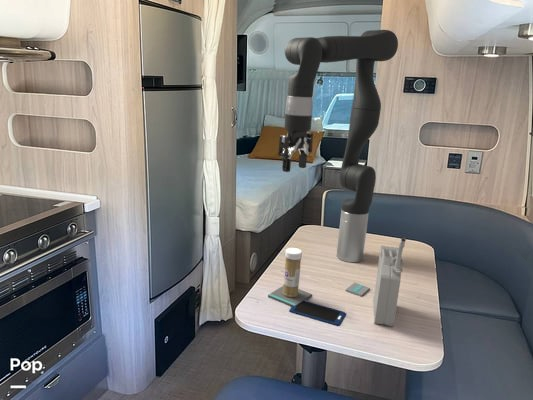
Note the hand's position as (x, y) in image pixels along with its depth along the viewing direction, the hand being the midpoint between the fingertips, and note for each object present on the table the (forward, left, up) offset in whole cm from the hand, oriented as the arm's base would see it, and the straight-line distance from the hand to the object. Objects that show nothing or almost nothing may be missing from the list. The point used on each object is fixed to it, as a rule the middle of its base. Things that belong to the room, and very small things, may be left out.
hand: (294, 169), depth 127 cm
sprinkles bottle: (+10, +8, -34) cm, 36 cm away
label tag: (-7, +21, -34) cm, 41 cm away
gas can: (+2, +33, -34) cm, 47 cm away
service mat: (+10, +8, -34) cm, 36 cm away
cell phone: (+12, +18, -35) cm, 41 cm away
